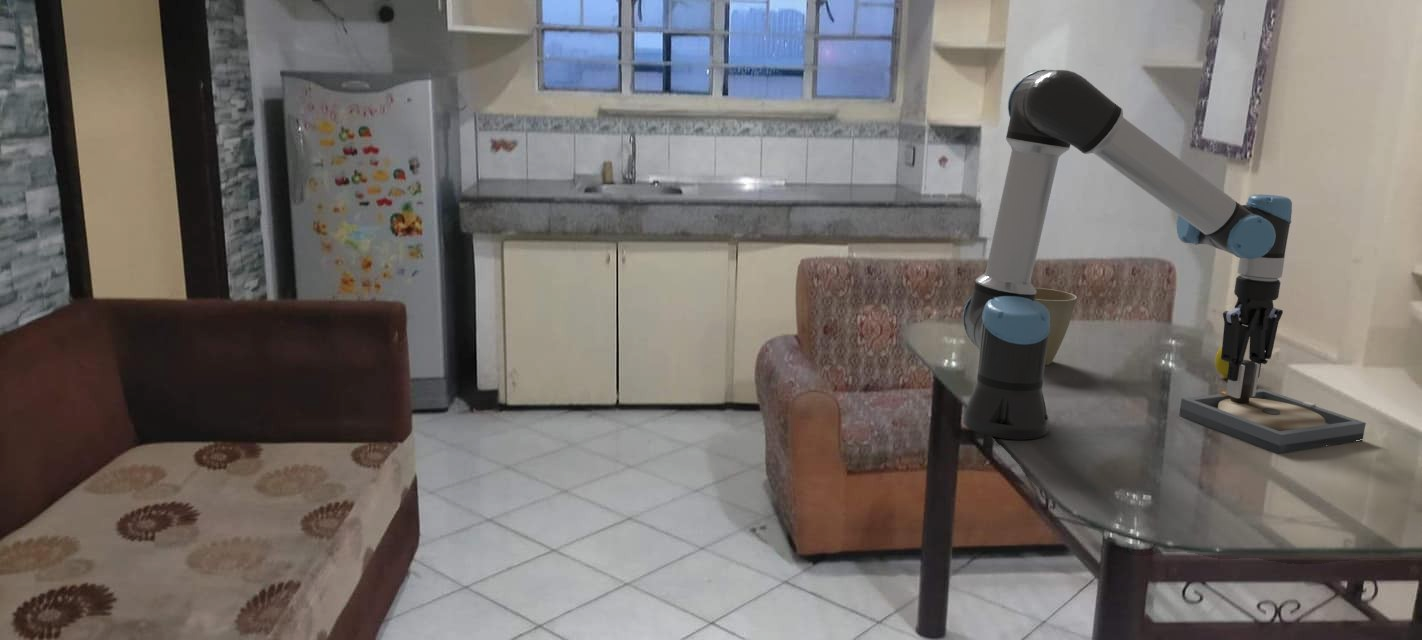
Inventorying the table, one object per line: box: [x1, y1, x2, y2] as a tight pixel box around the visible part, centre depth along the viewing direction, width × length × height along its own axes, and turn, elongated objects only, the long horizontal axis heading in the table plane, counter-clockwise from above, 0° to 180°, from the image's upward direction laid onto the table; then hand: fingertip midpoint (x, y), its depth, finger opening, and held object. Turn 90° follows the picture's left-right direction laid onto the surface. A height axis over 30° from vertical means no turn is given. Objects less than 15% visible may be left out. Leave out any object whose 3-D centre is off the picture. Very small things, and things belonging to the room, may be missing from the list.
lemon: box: [1214, 346, 1237, 379], centre depth 231 cm, size 6×6×8 cm
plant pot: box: [1034, 287, 1078, 366], centre depth 238 cm, size 15×15×16 cm
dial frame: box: [1178, 388, 1367, 455], centre depth 198 cm, size 22×22×4 cm
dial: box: [1218, 359, 1325, 431], centre depth 197 cm, size 18×18×10 cm
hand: (1240, 395), depth 204 cm, fingers open, 3 cm apart
